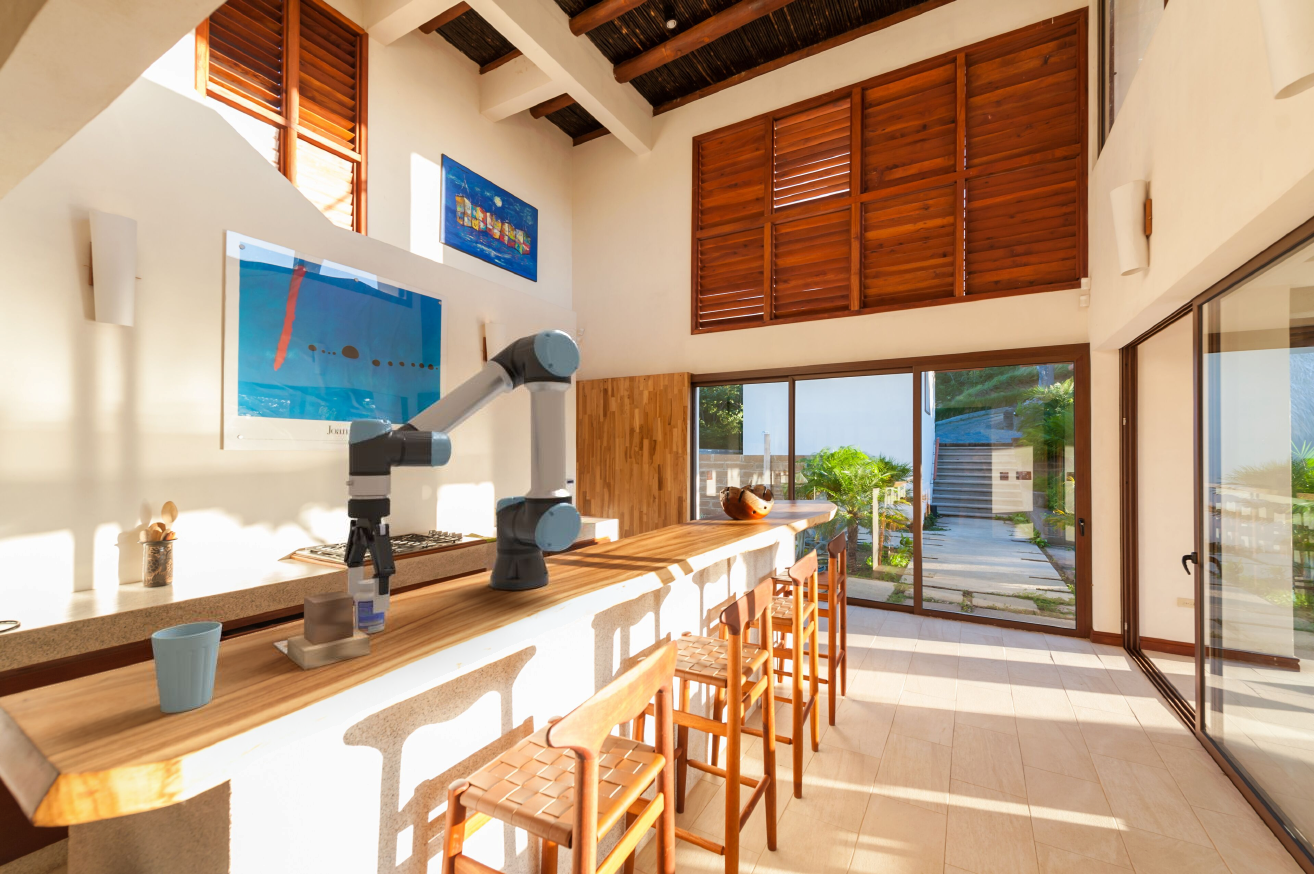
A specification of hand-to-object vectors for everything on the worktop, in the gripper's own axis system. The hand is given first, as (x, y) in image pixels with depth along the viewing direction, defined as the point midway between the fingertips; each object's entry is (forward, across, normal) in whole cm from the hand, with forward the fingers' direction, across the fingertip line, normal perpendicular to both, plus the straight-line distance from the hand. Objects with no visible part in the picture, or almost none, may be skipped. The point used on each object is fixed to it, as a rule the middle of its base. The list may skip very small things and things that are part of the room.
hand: (367, 605), depth 113 cm
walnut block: (+2, +9, -10) cm, 13 cm away
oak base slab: (+5, +9, -10) cm, 14 cm away
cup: (+6, +16, -30) cm, 34 cm away
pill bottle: (+5, 0, 0) cm, 5 cm away
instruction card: (+5, -1, -10) cm, 11 cm away
